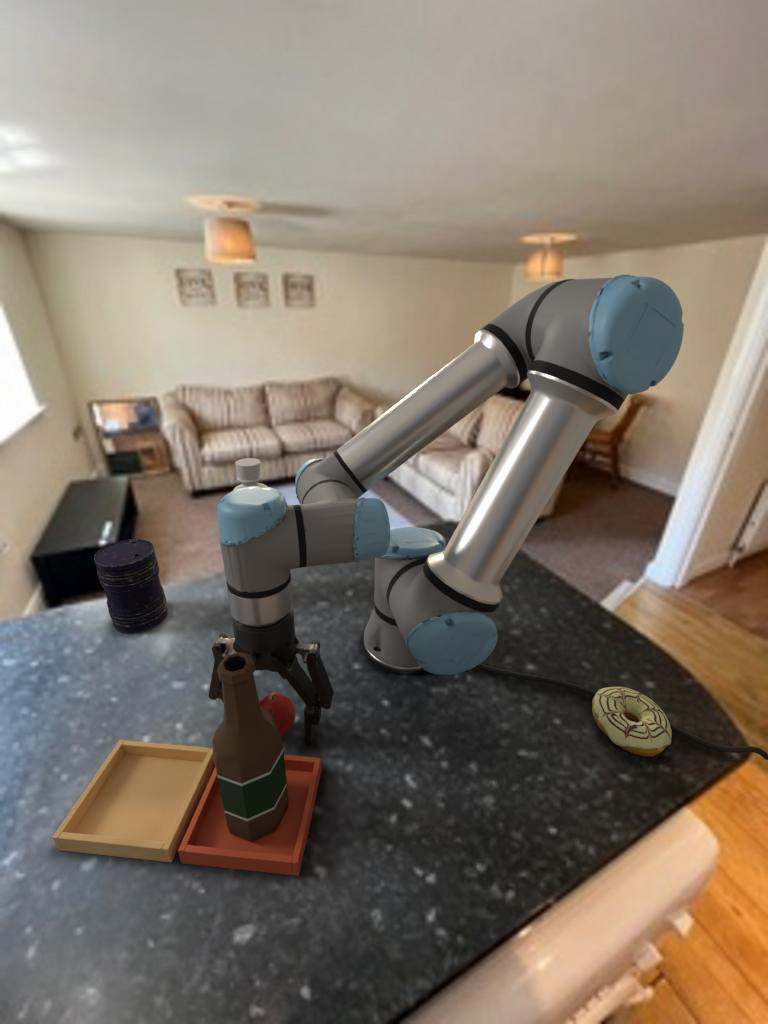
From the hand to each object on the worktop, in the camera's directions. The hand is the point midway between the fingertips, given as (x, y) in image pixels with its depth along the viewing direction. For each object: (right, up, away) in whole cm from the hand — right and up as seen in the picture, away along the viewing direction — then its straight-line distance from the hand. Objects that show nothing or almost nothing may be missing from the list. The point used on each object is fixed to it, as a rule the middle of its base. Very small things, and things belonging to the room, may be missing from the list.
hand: (276, 733), depth 65 cm
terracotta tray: (0, -5, -10) cm, 11 cm away
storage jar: (-32, +11, +23) cm, 41 cm away
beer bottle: (0, -5, -10) cm, 11 cm away
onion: (0, 0, 0) cm, 0 cm away
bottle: (-10, +14, +31) cm, 35 cm away
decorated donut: (+53, -1, +3) cm, 53 cm away
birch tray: (-14, -4, -9) cm, 17 cm away
